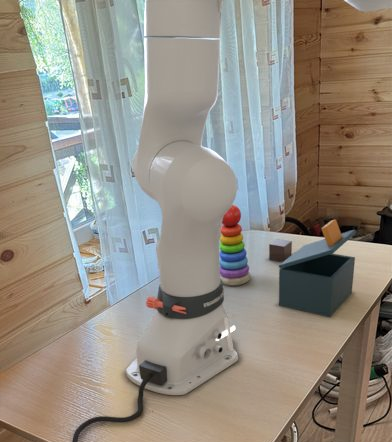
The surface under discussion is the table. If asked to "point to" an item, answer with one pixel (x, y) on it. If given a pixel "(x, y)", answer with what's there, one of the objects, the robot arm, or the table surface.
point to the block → (280, 250)
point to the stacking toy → (233, 250)
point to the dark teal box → (317, 284)
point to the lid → (320, 245)
